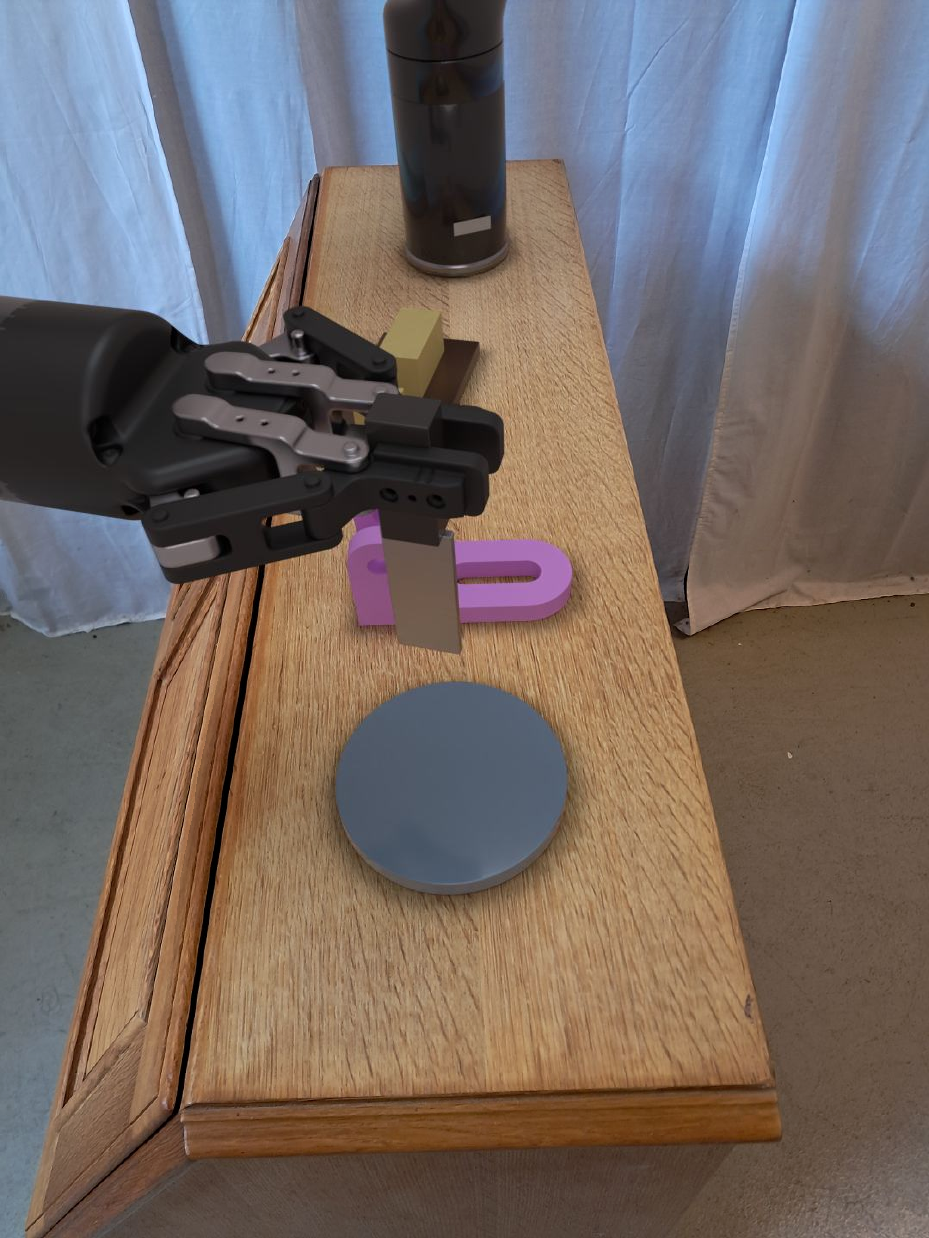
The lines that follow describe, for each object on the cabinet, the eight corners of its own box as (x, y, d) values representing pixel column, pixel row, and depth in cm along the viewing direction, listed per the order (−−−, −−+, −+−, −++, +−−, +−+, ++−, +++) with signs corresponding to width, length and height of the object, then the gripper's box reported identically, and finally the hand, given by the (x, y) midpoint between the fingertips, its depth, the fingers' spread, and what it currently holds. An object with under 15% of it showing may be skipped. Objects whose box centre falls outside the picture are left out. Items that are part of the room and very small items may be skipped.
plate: (379, 677, 53) (376, 664, 52) (584, 714, 51) (585, 701, 50) (305, 865, 46) (300, 855, 45) (541, 920, 43) (542, 909, 42)
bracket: (359, 625, 56) (341, 544, 50) (366, 559, 59) (350, 477, 54) (574, 619, 55) (579, 537, 50) (568, 553, 59) (572, 469, 53)
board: (385, 344, 75) (383, 331, 74) (480, 354, 74) (479, 341, 73) (322, 462, 66) (319, 449, 65) (428, 476, 64) (427, 463, 63)
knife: (404, 626, 40) (369, 390, 31) (466, 637, 40) (450, 399, 30) (393, 654, 39) (354, 419, 30) (456, 666, 39) (436, 429, 29)
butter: (405, 346, 73) (401, 307, 70) (444, 351, 72) (441, 310, 69) (381, 395, 69) (375, 354, 66) (421, 399, 68) (417, 359, 65)
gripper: (-131, 439, 27) (430, 522, 24) (99, 220, 36) (537, 257, 32) (-18, 606, 33) (447, 692, 29) (157, 382, 41) (535, 429, 38)
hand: (492, 464), depth 31 cm, fingers closed on knife, 1 cm apart
